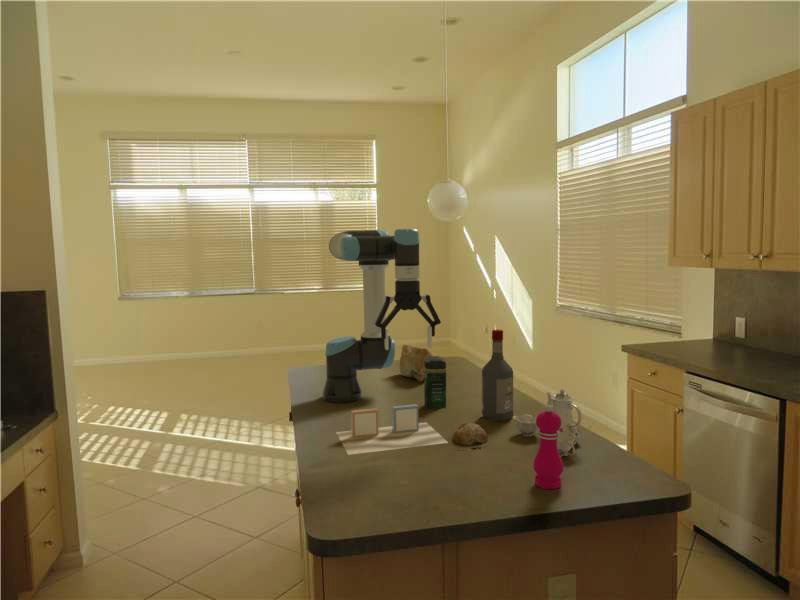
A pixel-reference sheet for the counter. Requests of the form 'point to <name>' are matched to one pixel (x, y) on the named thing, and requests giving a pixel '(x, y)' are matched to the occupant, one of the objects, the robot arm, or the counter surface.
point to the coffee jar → (435, 382)
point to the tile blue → (405, 418)
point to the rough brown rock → (413, 361)
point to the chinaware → (568, 427)
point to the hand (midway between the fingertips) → (408, 348)
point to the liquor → (497, 383)
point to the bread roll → (470, 434)
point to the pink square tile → (364, 423)
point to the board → (390, 440)
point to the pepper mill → (548, 450)
